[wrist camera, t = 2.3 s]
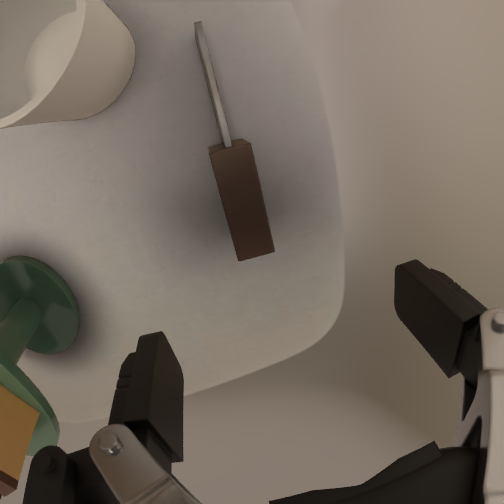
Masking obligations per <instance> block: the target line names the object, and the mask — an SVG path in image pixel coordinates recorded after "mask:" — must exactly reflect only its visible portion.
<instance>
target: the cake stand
mask: <svg viewBox="0 0 504 504" xmlns="http://www.w3.org/2000/svg"><path fill="white" fill-rule="evenodd" d="M79 324H80V316H79V310H78V306H77V303H76V300H75V298H74V296H73V294H72V292H71V290H70V289H69V287H68V286H67V284H66V283H65V282H64V280H63V279H62V278H61V277H60V276H59V275H58V274H57V273H56V272H55V271H54V270H52V269H51V268H50V267H49V266H47V265H45V264H44V263H42V262H40V261H38V260H36V259H33V258H30V257H25V256H14V257H10V258H7V259H5V260H4V261H2V262H1V263H0V384H1V385H2V386H4V387H5V388H6V389H7V390H9V391H10V392H12V393H13V394H14V395H16V396H17V397H18V398H20V399H21V400H23V401H24V402H26V403H27V404H28V405H30V406H31V407H33V408H34V409H36V410H37V411H39V412H40V414H39V417H38V420H37V423H36V425H35V428H34V431H33V434H32V437H31V440H30V444H29V447H28V450H27V453H26V455H30V456H34V455H35V454H36V453H37V452H38V451H39V450H40V449H42V448H43V447H45V446H50V445H55V446H57V443H58V439H59V435H60V428H59V423H58V420H57V417H56V415H55V413H54V411H53V409H52V407H51V406H50V404H49V403H48V401H47V400H46V398H45V397H44V396H43V394H42V393H41V392H40V390H39V389H38V388H37V387H36V386H35V384H34V383H33V382H32V381H31V380H30V379H29V378H28V377H27V376H26V374H25V373H24V372H23V371H22V370H21V369H20V368H19V367H18V366H17V363H18V361H19V359H20V357H21V356H22V354H23V352H24V350H25V349H26V348H27V349H29V350H32V351H35V352H38V353H43V354H55V353H59V352H62V351H64V350H65V349H67V348H68V347H69V346H70V345H71V344H72V343H73V341H74V339H75V337H76V335H77V332H78V330H79Z"/></svg>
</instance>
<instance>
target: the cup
mask: <svg viewBox="0 0 504 504" xmlns="http://www.w3.org/2000/svg"><path fill="white" fill-rule="evenodd" d="M134 63H135V45H134V41H133V38H132V36H131V34H130V32H129V30H128V29H127V28H126V26H125V25H124V24H123V23H122V22H121V21H120V20H119V19H118V17H117V16H116V15H115V14H114V13H113V12H112V11H111V10H110V9H109V8H108V7H107V5H106V4H105V3H104V2H103V1H102V0H0V129H1V128H7V127H14V126H21V125H28V124H36V123H45V122H55V121H67V120H79V119H83V118H88V117H90V116H93V115H95V114H97V113H99V112H101V111H102V110H104V109H105V108H107V107H108V106H109V105H110V104H112V103H113V102H114V101H115V100H116V99H117V98H118V96H119V95H120V94H121V93H122V91H123V90H124V88H125V87H126V85H127V83H128V81H129V80H130V77H131V74H132V72H133V68H134Z"/></svg>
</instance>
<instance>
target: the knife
mask: <svg viewBox="0 0 504 504" xmlns="http://www.w3.org/2000/svg"><path fill="white" fill-rule="evenodd" d="M194 26H195V37H196V41H197V45H198V49H199V53H200V57H201V61H202V65H203V69H204V73H205V77H206V80H207V84H208V88H209V92H210V96H211V100H212V104H213V108H214V112H215V116H216V120H217V124H218V128H219V132H220V136H221V140H222V144H218V145H215V146H211V147H209V148H208V149H209V155H210V159H211V163H212V167H213V170H214V174H215V178H216V182H217V185H218V189H219V193H220V196H221V200H222V204H223V207H224V211H225V215H226V219H227V222H228V226H229V229H230V233H231V237H232V240H233V244H234V248H235V251H236V255H237V258H238V261H243V260H246V259H250V258H254V257H257V256H261V255H265V254H268V253H272V252H275V249H274V245H273V240H272V236H271V231H270V226H269V222H268V217H267V213H266V208H265V204H264V200H263V195H262V191H261V186H260V182H259V178H258V173H257V169H256V165H255V160H254V156H253V152H252V148H251V144H250V143H249V142H247V141H245V140H244V139H238V140H234V141H231V138H230V134H229V130H228V126H227V122H226V118H225V114H224V110H223V106H222V102H221V98H220V94H219V90H218V86H217V83H216V79H215V75H214V71H213V67H212V63H211V59H210V55H209V51H208V47H207V43H206V39H205V35H204V31H203V27H202V23H201V21H199V22H195V23H194Z"/></svg>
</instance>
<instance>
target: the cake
mask: <svg viewBox="0 0 504 504" xmlns="http://www.w3.org/2000/svg"><path fill="white" fill-rule="evenodd" d="M39 414H40V412H39V411H37V410H36V409H34V408H33V407H31V406H30V405H28V404H27V403H26V402H24V401H23V400H21V399H20V398H18V397H17V396H16V395H14V394H13V393H12V392H10V391H9V390H7V389H6V388H5V387H4V386H2V385H1V384H0V499H1V496H2V495H3V496H7V495H8V494H10V493H12V492H13V491H15V490H16V489H17V485H18V481H19V478H20V474H21V470H22V467H23V463H24V460H25V456H26V453H27V450H28V447H29V444H30V440H31V437H32V434H33V431H34V428H35V425H36V423H37V420H38V417H39Z"/></svg>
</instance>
